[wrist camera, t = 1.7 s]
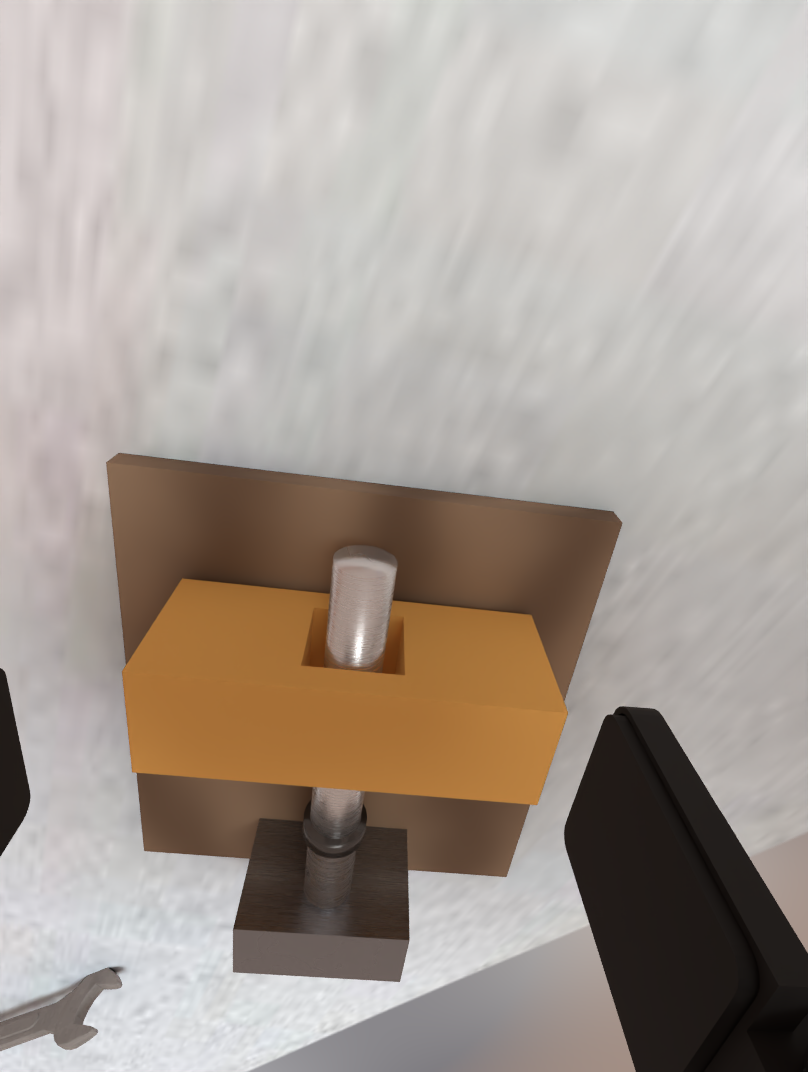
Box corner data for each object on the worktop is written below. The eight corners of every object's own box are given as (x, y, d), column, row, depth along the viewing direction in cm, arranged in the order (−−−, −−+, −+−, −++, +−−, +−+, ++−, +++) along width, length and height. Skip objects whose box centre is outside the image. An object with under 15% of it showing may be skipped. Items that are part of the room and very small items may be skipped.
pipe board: (612, 511, 22) (622, 523, 21) (503, 858, 30) (506, 877, 30) (118, 453, 20) (105, 462, 20) (152, 832, 29) (143, 851, 28)
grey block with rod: (466, 530, 21) (486, 607, 16) (399, 869, 29) (399, 981, 25) (270, 508, 20) (235, 581, 16) (258, 859, 29) (232, 972, 24)
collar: (531, 614, 22) (568, 712, 17) (509, 696, 24) (537, 804, 19) (182, 578, 21) (122, 671, 16) (185, 665, 23) (132, 772, 18)
